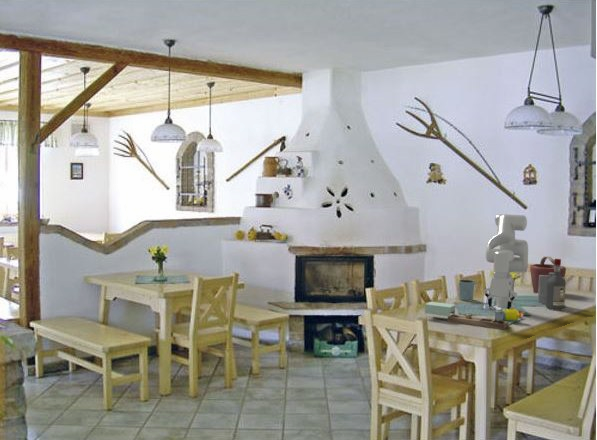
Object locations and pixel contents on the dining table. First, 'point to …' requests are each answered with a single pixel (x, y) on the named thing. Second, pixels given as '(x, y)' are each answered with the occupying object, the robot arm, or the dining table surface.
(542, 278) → the hip flask
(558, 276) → the liquor
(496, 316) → the pin
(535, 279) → the bucket
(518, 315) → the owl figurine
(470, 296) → the drinking glass
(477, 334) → the dining table surface
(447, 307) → the cover
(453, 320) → the pin board
